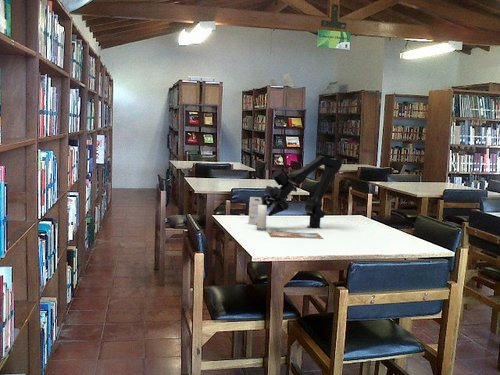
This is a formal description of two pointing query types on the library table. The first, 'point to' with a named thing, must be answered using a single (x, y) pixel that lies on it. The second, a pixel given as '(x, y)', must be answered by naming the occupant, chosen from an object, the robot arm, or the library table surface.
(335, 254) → the library table surface
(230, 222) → the library table surface
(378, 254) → the library table surface
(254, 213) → the ink cartridge box
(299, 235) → the grey coaster
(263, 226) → the frosted light bulb
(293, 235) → the walnut board
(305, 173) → the robot arm
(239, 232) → the library table surface
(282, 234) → the terracotta coaster
